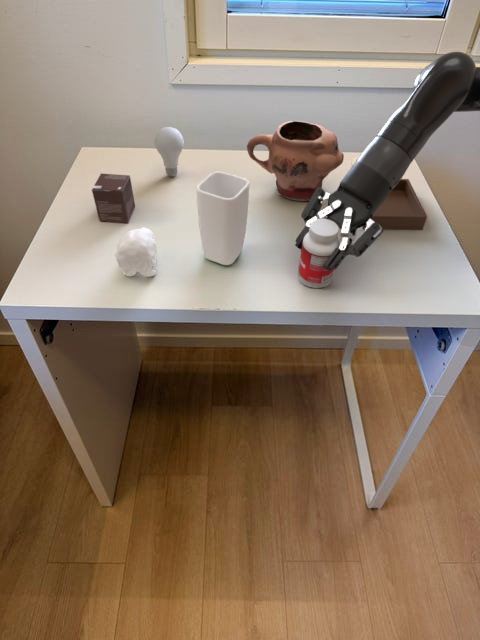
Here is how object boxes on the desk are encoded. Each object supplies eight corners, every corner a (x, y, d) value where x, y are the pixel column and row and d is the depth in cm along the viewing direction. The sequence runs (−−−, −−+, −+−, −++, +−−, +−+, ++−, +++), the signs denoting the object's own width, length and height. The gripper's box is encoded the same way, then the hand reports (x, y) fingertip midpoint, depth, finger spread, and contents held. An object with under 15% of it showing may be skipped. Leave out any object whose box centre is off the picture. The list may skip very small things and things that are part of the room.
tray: (422, 229, 94) (427, 217, 92) (362, 229, 94) (366, 216, 92) (404, 191, 104) (408, 178, 102) (350, 190, 103) (353, 177, 101)
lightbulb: (180, 185, 103) (177, 136, 95) (154, 180, 104) (148, 132, 96) (189, 171, 107) (186, 124, 99) (163, 167, 108) (159, 120, 100)
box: (136, 207, 97) (131, 175, 91) (128, 224, 93) (122, 191, 87) (107, 204, 97) (100, 172, 92) (98, 221, 93) (90, 189, 88)
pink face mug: (243, 203, 99) (246, 140, 89) (246, 173, 107) (249, 112, 97) (338, 209, 98) (351, 146, 88) (333, 178, 107) (345, 118, 96)
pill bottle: (300, 263, 86) (308, 213, 78) (333, 269, 85) (344, 218, 77) (295, 286, 82) (302, 235, 74) (329, 292, 81) (341, 241, 73)
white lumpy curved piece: (110, 243, 74) (124, 206, 83) (118, 285, 80) (130, 247, 89) (150, 244, 75) (159, 207, 83) (155, 286, 80) (163, 248, 89)
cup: (215, 239, 90) (214, 168, 79) (249, 251, 88) (253, 180, 77) (196, 260, 86) (192, 189, 75) (230, 273, 84) (232, 201, 73)
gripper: (334, 145, 76) (273, 230, 79) (405, 184, 68) (334, 276, 72) (350, 165, 82) (293, 243, 86) (416, 203, 75) (351, 287, 78)
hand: (312, 258), depth 79 cm, fingers closed on pill bottle, 6 cm apart
